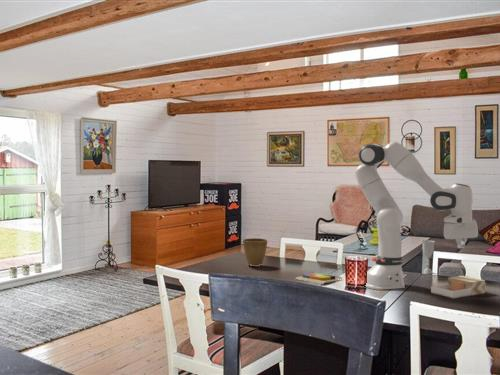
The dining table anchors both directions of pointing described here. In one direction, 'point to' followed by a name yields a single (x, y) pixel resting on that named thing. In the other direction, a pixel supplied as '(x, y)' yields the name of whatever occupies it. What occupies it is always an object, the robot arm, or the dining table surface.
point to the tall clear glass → (428, 253)
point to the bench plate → (470, 284)
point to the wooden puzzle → (319, 278)
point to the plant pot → (255, 250)
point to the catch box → (449, 291)
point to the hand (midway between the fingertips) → (461, 248)
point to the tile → (457, 285)
